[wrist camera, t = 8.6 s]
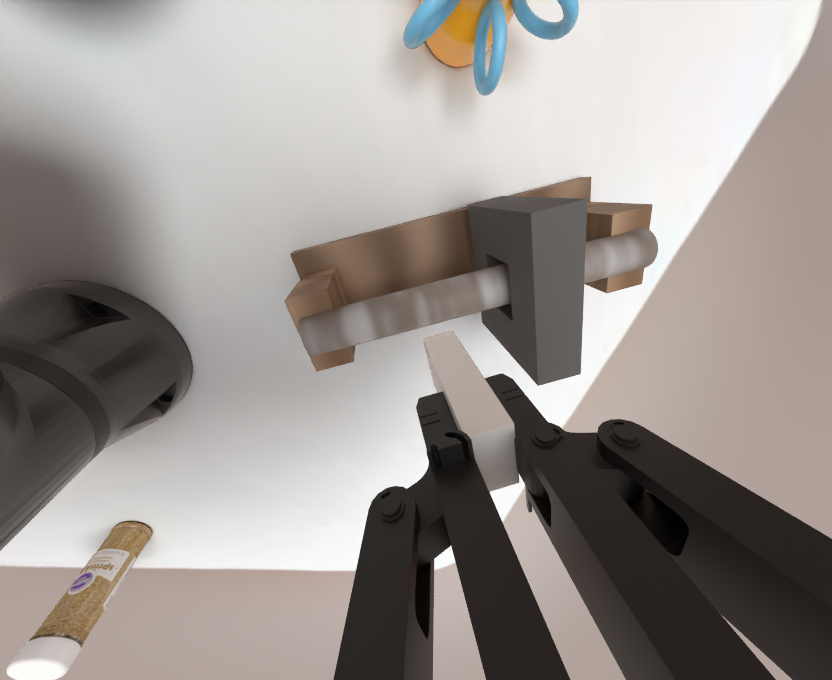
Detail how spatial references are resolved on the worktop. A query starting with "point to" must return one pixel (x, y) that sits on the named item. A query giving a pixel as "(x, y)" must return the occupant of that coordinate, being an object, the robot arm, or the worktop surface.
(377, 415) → the worktop surface
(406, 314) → the pipe stand
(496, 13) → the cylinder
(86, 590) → the sprinkles bottle
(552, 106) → the worktop surface
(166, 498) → the worktop surface
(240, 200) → the worktop surface
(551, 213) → the collar
